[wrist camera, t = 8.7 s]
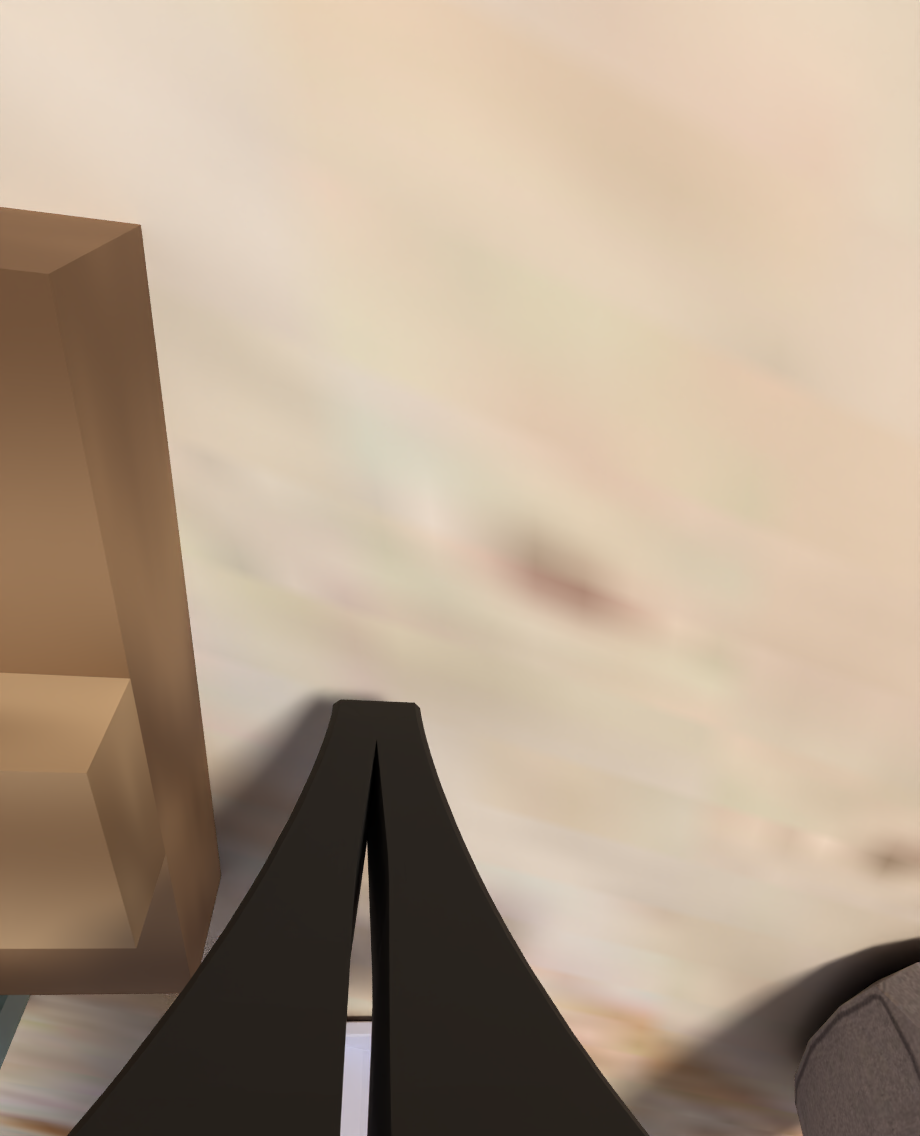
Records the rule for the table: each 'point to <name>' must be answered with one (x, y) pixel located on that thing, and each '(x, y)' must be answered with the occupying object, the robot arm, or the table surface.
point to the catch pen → (10, 1019)
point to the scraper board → (93, 632)
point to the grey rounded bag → (865, 1064)
